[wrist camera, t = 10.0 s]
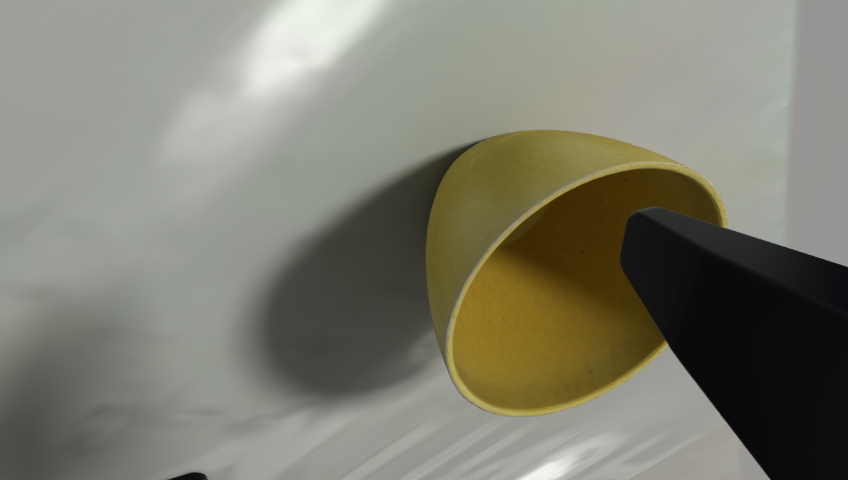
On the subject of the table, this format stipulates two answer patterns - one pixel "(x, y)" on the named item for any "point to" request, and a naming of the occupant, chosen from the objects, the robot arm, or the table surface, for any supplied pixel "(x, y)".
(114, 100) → the table surface
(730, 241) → the robot arm
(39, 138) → the table surface
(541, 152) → the yellow bowl
